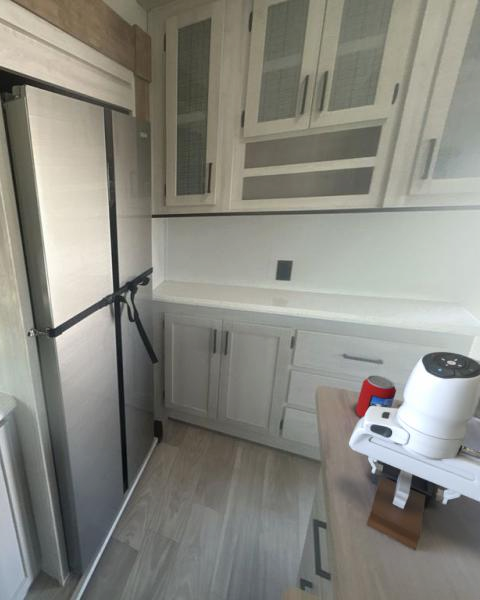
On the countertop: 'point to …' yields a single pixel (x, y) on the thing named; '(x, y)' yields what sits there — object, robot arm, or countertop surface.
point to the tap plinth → (397, 514)
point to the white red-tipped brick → (402, 489)
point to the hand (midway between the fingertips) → (406, 485)
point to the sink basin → (416, 482)
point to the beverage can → (375, 394)
